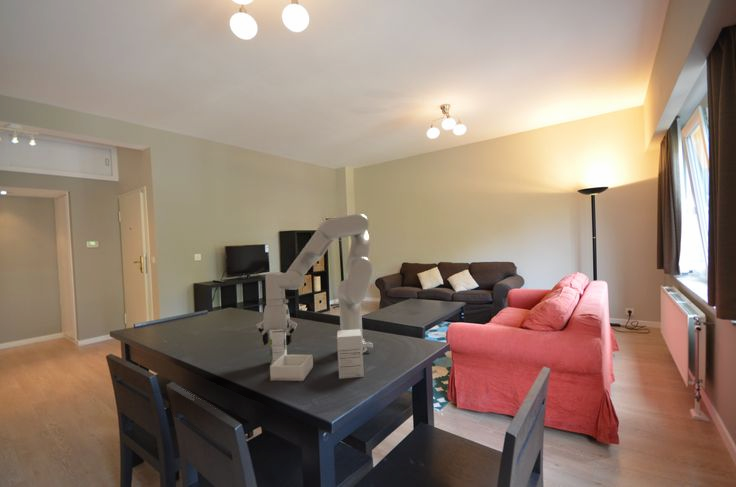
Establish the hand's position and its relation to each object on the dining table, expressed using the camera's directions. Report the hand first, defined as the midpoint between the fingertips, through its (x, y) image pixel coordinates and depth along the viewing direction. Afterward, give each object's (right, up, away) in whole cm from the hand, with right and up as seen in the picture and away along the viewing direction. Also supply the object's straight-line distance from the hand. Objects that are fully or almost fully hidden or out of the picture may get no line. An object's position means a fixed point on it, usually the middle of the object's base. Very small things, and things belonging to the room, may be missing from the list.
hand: (277, 344), depth 136 cm
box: (+9, -7, -12) cm, 17 cm away
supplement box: (+31, -7, -14) cm, 35 cm away
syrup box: (+1, -8, 0) cm, 8 cm away
